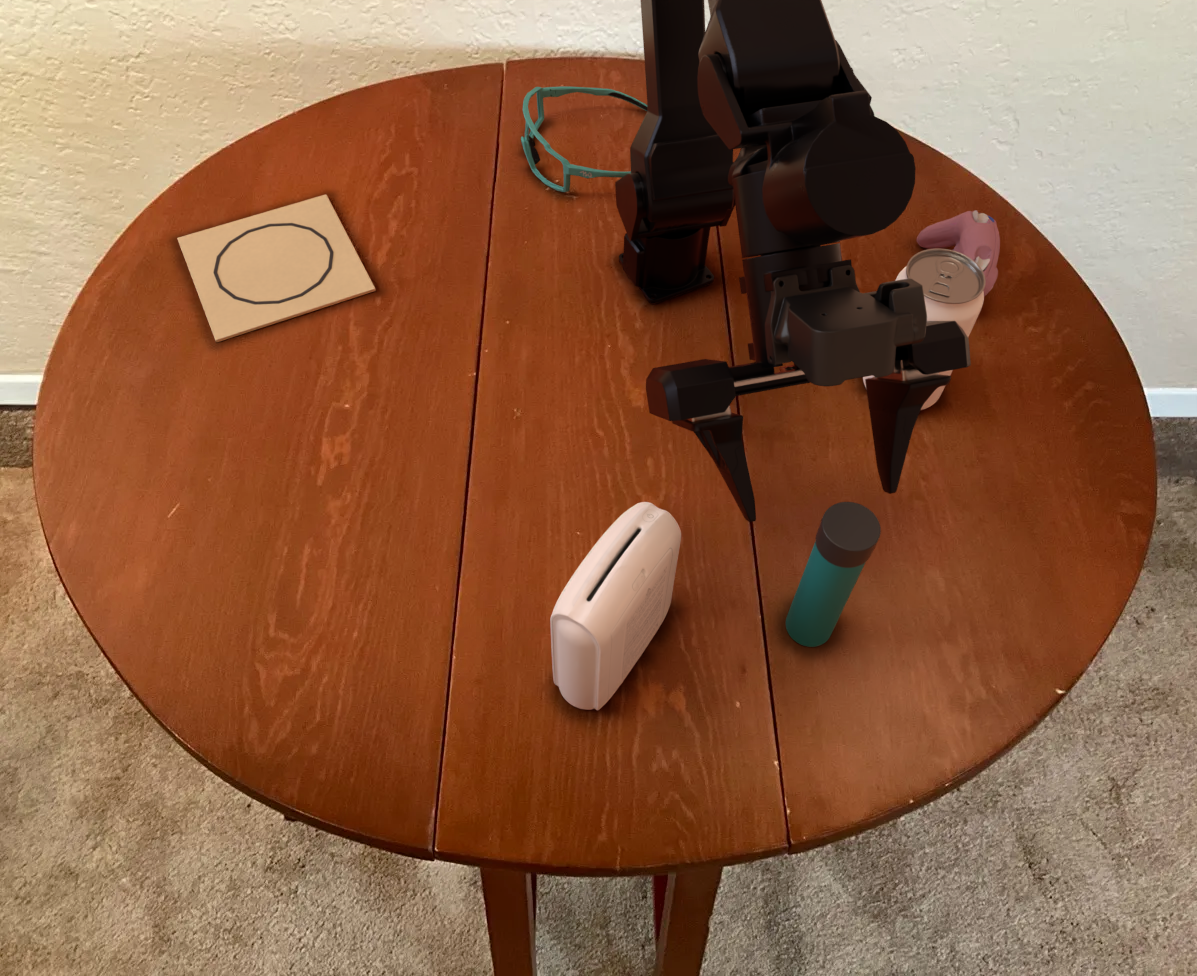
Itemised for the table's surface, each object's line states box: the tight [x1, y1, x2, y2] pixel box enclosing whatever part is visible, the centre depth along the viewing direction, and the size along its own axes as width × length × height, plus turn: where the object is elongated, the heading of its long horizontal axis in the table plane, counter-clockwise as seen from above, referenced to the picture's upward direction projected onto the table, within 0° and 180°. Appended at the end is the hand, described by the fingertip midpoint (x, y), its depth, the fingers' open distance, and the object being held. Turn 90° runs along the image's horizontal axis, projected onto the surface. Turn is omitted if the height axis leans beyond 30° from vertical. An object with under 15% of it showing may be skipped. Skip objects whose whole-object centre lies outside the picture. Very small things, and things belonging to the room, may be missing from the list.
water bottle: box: [785, 501, 882, 648], centre depth 61 cm, size 3×3×13 cm
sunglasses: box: [520, 85, 648, 193], centre depth 94 cm, size 14×15×5 cm
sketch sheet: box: [176, 193, 377, 343], centre depth 86 cm, size 14×14×1 cm
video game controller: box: [916, 209, 1001, 297], centre depth 84 cm, size 10×5×7 cm, turn 168°
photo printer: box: [549, 501, 682, 711], centre depth 60 cm, size 10×4×12 cm, turn 147°
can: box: [862, 248, 986, 411], centre depth 74 cm, size 6×6×12 cm
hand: (821, 506), depth 60 cm, fingers open, 9 cm apart
